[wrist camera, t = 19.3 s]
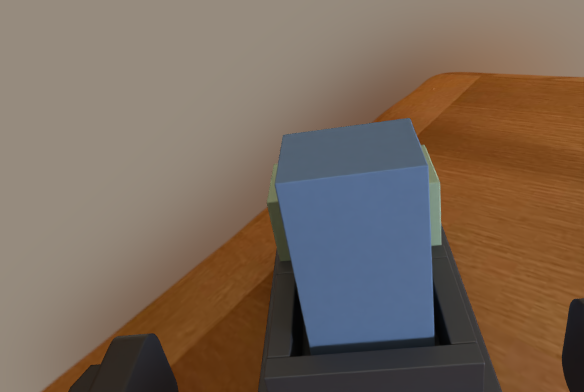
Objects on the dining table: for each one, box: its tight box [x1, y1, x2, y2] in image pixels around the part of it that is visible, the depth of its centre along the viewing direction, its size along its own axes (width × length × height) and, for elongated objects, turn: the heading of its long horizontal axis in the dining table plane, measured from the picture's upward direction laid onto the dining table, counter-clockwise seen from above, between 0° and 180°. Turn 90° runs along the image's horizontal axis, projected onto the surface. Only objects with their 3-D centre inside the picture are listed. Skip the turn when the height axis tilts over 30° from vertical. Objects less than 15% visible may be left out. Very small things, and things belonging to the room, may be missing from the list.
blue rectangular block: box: [274, 118, 435, 355], centre depth 20 cm, size 4×5×10 cm
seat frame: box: [258, 145, 502, 392], centre depth 24 cm, size 15×10×8 cm, turn 177°
